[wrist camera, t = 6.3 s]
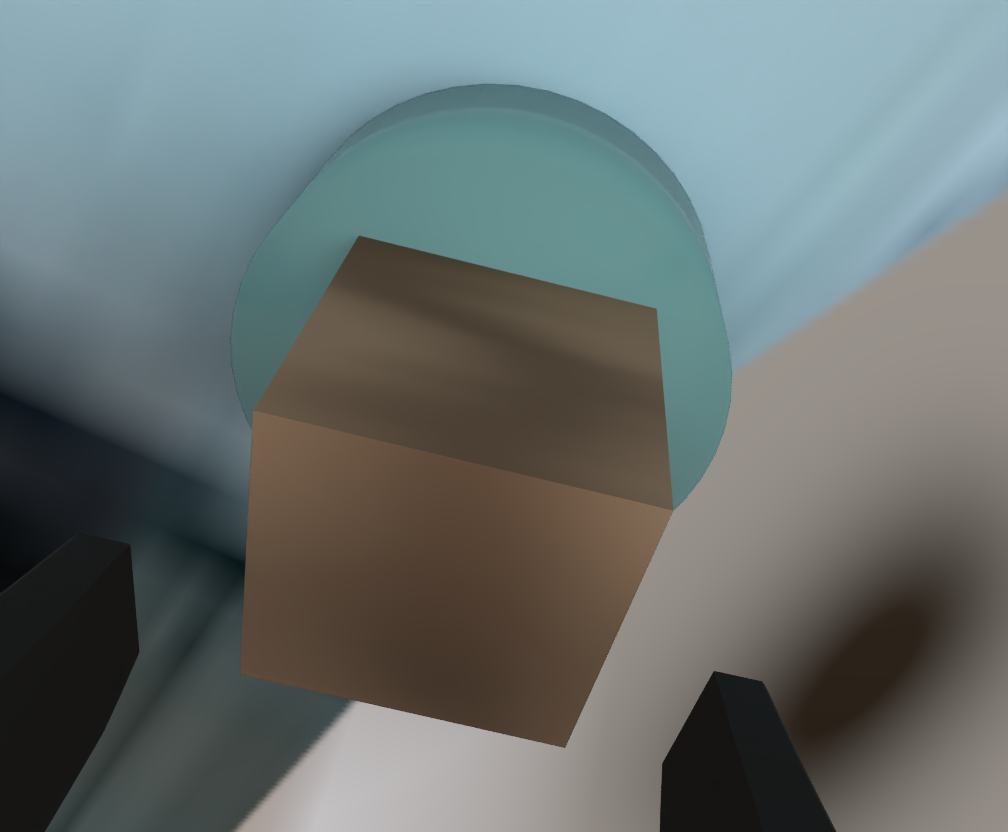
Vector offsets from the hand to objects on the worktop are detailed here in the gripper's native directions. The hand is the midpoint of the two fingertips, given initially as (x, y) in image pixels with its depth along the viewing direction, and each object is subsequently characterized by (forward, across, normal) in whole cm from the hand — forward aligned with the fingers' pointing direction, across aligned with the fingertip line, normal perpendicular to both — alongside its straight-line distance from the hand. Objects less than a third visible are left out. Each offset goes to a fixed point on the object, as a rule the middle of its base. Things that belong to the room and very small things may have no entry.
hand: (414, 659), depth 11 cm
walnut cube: (+6, 0, 0) cm, 6 cm away
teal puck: (+10, 0, 0) cm, 10 cm away
